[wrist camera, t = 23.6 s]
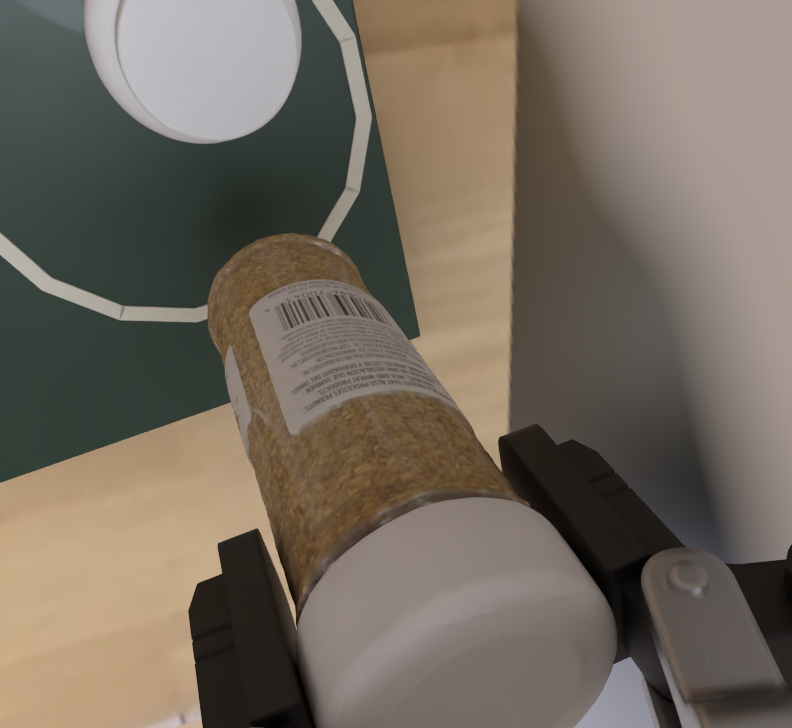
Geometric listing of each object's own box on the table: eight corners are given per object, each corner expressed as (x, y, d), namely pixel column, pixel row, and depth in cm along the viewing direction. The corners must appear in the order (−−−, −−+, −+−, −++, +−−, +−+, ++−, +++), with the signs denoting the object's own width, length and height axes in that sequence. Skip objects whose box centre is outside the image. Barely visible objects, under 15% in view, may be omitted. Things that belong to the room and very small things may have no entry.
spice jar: (184, 354, 21) (274, 829, 10) (236, 204, 19) (411, 573, 8) (331, 386, 23) (537, 808, 12) (389, 253, 22) (687, 600, 11)
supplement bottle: (77, 74, 25) (67, 146, 17) (97, -112, 22) (94, -130, 14) (241, 112, 27) (300, 193, 19) (273, -53, 25) (355, -41, 17)
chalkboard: (311, -168, 24) (319, -171, 23) (413, 327, 35) (421, 337, 34) (-333, -27, 21) (-351, -24, 20) (-6, 472, 32) (-9, 488, 31)
